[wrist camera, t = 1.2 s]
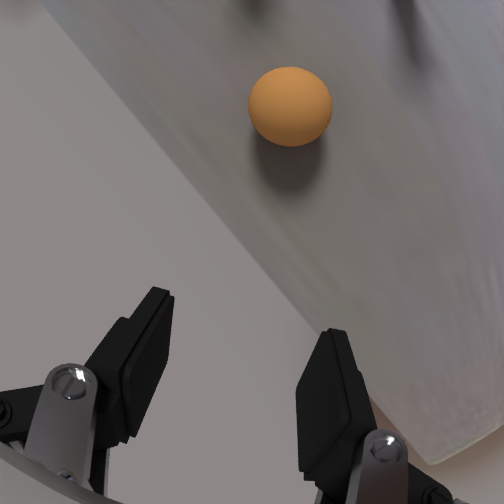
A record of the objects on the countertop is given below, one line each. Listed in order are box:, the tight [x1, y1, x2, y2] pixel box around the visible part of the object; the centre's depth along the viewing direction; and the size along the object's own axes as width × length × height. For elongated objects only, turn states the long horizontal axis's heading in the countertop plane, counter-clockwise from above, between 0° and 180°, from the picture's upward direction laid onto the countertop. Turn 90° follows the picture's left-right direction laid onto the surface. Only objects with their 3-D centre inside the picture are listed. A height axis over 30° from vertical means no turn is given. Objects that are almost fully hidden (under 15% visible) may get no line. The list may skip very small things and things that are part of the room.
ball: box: [248, 67, 332, 147], centre depth 18 cm, size 6×6×6 cm
